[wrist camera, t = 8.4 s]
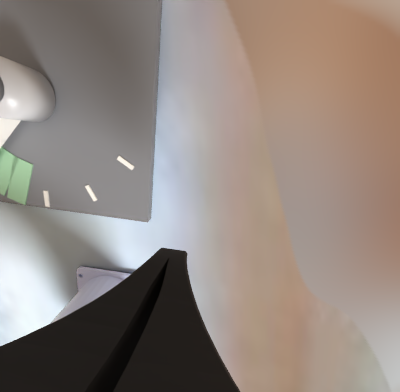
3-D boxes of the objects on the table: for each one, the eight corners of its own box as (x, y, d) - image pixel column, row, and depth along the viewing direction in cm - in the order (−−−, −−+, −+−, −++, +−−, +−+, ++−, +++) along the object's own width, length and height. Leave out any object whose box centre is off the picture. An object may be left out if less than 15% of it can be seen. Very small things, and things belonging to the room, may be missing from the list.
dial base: (150, 218, 19) (147, 222, 18) (-55, 189, 20) (-69, 192, 19) (162, -2, 14) (158, -14, 13) (-117, -33, 15) (-143, -47, 14)
